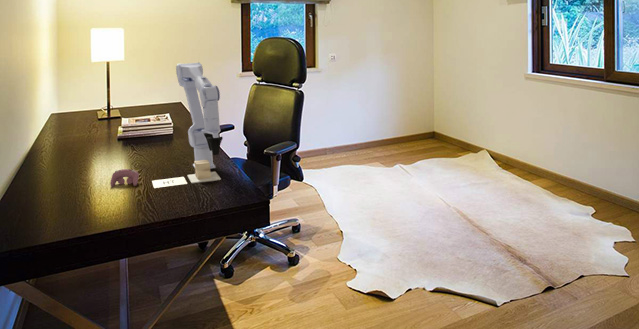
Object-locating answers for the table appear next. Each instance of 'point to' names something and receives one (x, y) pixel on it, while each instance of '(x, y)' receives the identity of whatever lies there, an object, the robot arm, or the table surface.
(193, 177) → the grey mat
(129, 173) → the video game controller
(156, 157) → the table surface
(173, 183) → the cream card
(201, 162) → the maple block
